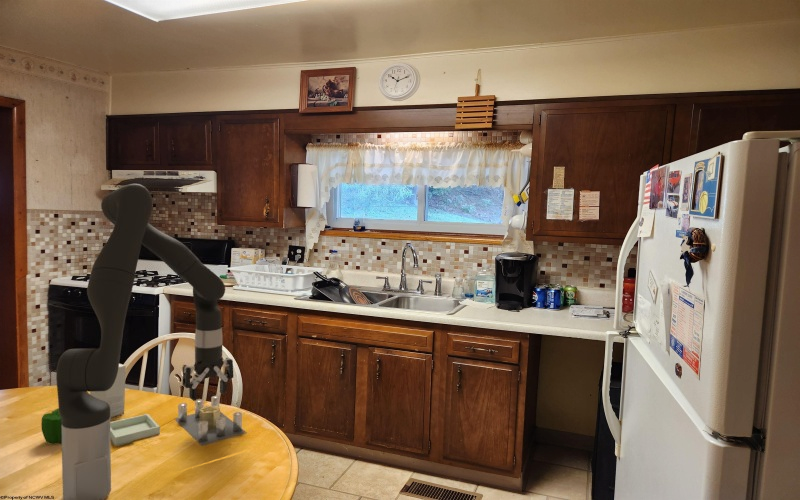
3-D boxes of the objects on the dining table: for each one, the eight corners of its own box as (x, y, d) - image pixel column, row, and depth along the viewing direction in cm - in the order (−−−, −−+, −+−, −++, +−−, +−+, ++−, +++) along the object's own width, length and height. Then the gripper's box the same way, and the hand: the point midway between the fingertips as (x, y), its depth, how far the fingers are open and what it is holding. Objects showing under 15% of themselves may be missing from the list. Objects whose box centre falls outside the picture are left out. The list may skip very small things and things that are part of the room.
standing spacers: (243, 430, 146) (243, 414, 146) (200, 442, 138) (200, 425, 137) (217, 410, 160) (217, 395, 159) (177, 420, 151) (177, 404, 151)
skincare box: (89, 414, 154) (88, 364, 153) (110, 407, 160) (109, 359, 159) (105, 420, 151) (105, 369, 149) (126, 412, 156) (126, 364, 155)
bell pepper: (60, 449, 132) (59, 412, 131) (34, 445, 134) (33, 409, 133) (86, 435, 140) (85, 401, 140) (61, 432, 142) (61, 397, 141)
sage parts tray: (159, 435, 143) (159, 426, 142) (115, 446, 135) (115, 437, 135) (147, 421, 151) (147, 413, 151) (105, 431, 143) (105, 423, 143)
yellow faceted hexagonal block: (221, 426, 148) (221, 410, 148) (204, 431, 145) (205, 414, 144) (213, 420, 153) (214, 404, 152) (197, 424, 149) (197, 408, 149)
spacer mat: (246, 434, 145) (246, 432, 145) (201, 447, 136) (201, 445, 136) (216, 409, 161) (216, 408, 161) (173, 420, 152) (173, 418, 152)
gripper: (189, 350, 139) (188, 406, 141) (237, 342, 149) (237, 394, 151) (179, 344, 145) (179, 398, 146) (226, 336, 154) (226, 387, 156)
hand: (208, 396), depth 148 cm, fingers open, 8 cm apart
